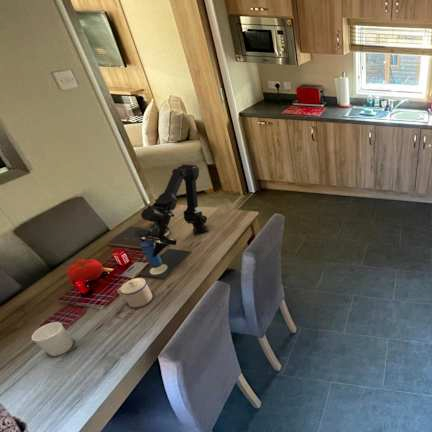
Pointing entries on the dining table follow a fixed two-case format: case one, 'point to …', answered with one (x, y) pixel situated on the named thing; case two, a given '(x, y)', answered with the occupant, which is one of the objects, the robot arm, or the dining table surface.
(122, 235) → the hardcover book
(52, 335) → the white cup
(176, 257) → the mat
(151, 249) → the tube
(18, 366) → the dining table surface
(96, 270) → the tomato
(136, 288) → the teacup with lid
